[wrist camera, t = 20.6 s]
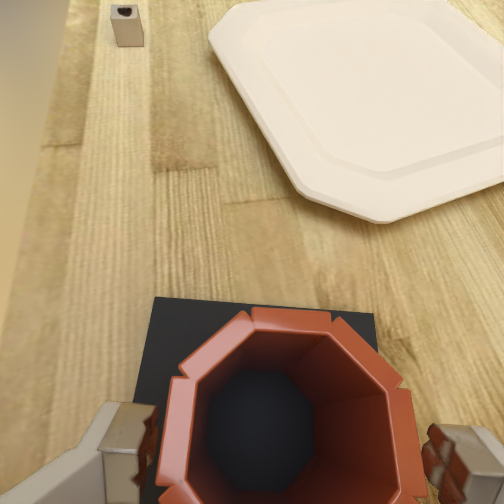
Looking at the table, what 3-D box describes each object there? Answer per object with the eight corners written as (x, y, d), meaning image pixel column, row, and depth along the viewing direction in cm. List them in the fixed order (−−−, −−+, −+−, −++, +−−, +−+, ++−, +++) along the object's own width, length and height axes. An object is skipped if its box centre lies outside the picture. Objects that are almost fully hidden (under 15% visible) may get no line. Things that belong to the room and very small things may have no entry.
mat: (404, 614, 13) (411, 622, 12) (95, 600, 12) (89, 608, 12) (369, 316, 18) (373, 313, 18) (157, 299, 18) (154, 296, 17)
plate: (590, 158, 26) (620, 137, 24) (321, 258, 20) (331, 241, 18) (408, 0, 35) (419, -25, 34) (194, 35, 30) (191, 8, 28)
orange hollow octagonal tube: (332, 514, 13) (451, 621, 6) (184, 508, 13) (134, 612, 6) (324, 360, 16) (398, 315, 9) (202, 353, 16) (182, 301, 9)
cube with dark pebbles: (143, 32, 29) (136, 1, 27) (143, 46, 28) (136, 15, 26) (118, 32, 29) (110, 1, 27) (118, 47, 28) (109, 15, 26)
